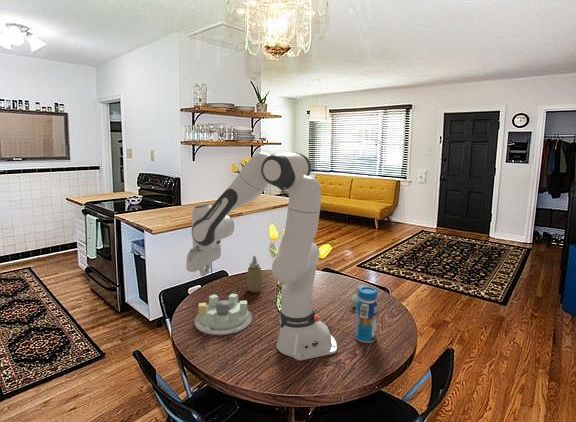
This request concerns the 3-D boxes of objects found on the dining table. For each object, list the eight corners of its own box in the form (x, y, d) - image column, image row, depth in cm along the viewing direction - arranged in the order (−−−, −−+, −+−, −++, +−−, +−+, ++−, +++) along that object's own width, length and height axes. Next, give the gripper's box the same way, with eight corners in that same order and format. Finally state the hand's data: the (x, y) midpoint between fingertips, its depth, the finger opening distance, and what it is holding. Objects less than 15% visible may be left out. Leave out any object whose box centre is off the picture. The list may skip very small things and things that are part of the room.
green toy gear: (246, 304, 167) (246, 291, 166) (249, 327, 147) (248, 313, 146) (200, 307, 164) (199, 294, 162) (196, 331, 144) (195, 316, 143)
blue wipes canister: (350, 334, 146) (352, 287, 142) (368, 330, 149) (371, 284, 145) (361, 345, 138) (364, 296, 134) (380, 341, 141) (384, 292, 137)
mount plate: (250, 305, 169) (250, 300, 168) (253, 333, 146) (253, 326, 145) (197, 308, 165) (196, 303, 165) (191, 337, 142) (191, 330, 142)
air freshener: (349, 310, 166) (350, 289, 164) (351, 302, 174) (352, 282, 172) (374, 313, 164) (376, 292, 162) (374, 304, 172) (376, 284, 170)
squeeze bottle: (260, 286, 191) (260, 253, 187) (264, 292, 183) (264, 258, 180) (245, 288, 188) (244, 254, 185) (248, 294, 181) (248, 259, 177)
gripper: (195, 251, 141) (196, 285, 144) (223, 237, 160) (223, 267, 163) (181, 249, 144) (183, 282, 146) (210, 236, 162) (211, 266, 165)
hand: (204, 274), depth 155 cm, fingers closed
